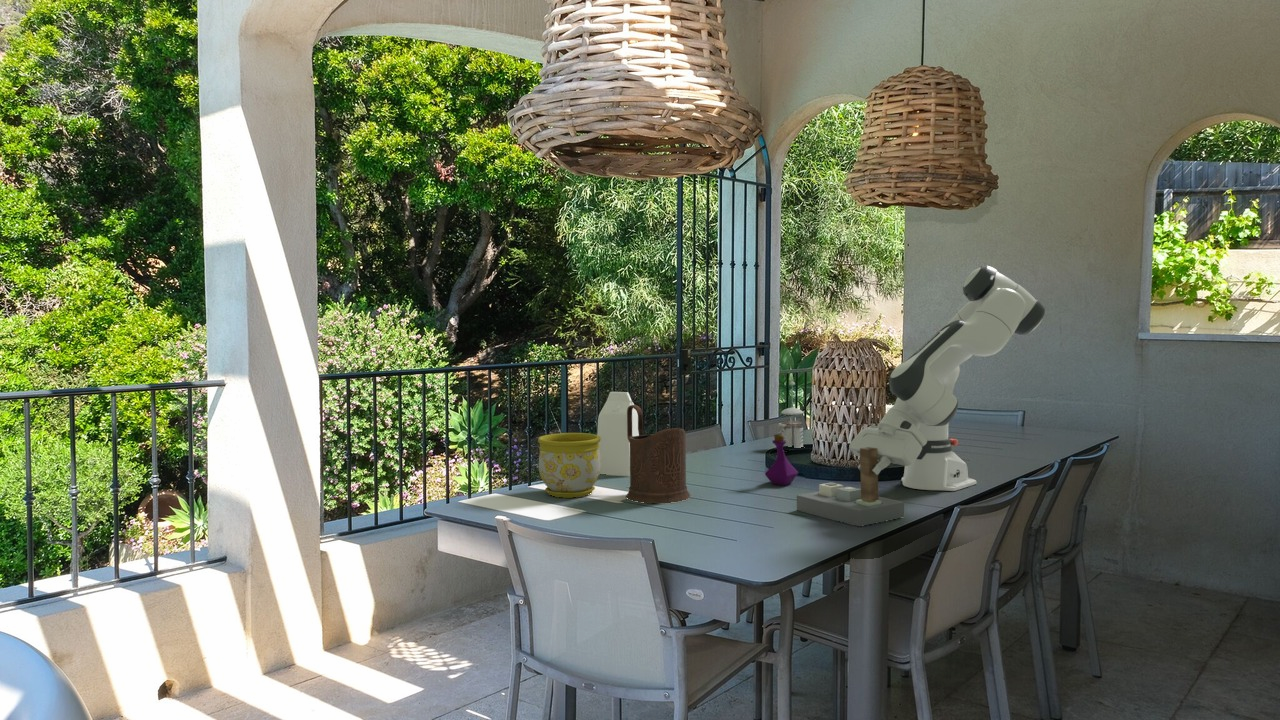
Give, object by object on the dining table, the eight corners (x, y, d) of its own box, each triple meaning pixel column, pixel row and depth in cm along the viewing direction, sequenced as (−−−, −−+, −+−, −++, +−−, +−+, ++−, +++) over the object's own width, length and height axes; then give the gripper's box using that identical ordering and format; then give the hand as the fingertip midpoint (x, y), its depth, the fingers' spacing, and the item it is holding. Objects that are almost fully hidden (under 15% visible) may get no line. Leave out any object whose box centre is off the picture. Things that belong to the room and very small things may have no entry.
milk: (644, 470, 301) (643, 391, 299) (630, 476, 290) (629, 394, 288) (610, 467, 305) (609, 390, 303) (595, 474, 295) (594, 393, 293)
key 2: (867, 511, 234) (868, 497, 234) (881, 514, 231) (881, 500, 231) (855, 513, 232) (855, 499, 232) (868, 517, 228) (869, 502, 228)
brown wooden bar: (870, 498, 233) (868, 447, 232) (878, 499, 230) (877, 448, 230) (861, 499, 231) (859, 448, 231) (869, 501, 229) (868, 449, 228)
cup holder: (649, 507, 247) (648, 415, 246) (603, 492, 267) (601, 406, 266) (704, 498, 258) (703, 409, 256) (655, 484, 278) (654, 402, 276)
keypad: (840, 502, 250) (840, 487, 250) (904, 517, 232) (904, 502, 232) (796, 510, 242) (796, 495, 241) (859, 527, 223) (859, 510, 223)
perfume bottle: (786, 487, 271) (786, 426, 270) (764, 484, 275) (764, 424, 274) (798, 483, 277) (798, 423, 276) (776, 480, 281) (776, 421, 280)
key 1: (831, 495, 245) (831, 481, 245) (843, 498, 242) (843, 484, 241) (819, 497, 243) (819, 483, 243) (831, 500, 239) (831, 486, 239)
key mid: (849, 499, 240) (849, 485, 240) (861, 502, 236) (861, 488, 236) (836, 502, 237) (837, 487, 237) (849, 505, 234) (849, 490, 233)
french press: (804, 447, 343) (804, 380, 341) (807, 452, 331) (807, 383, 329) (778, 446, 344) (777, 380, 342) (779, 452, 332) (779, 383, 330)
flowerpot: (546, 502, 255) (545, 443, 253) (533, 489, 272) (532, 434, 271) (608, 497, 260) (608, 439, 259) (592, 485, 277) (591, 431, 276)
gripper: (861, 417, 242) (833, 457, 238) (919, 425, 224) (889, 469, 220) (874, 432, 245) (846, 472, 241) (932, 442, 227) (903, 486, 223)
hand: (867, 471), depth 230 cm, fingers closed on brown wooden bar, 3 cm apart
